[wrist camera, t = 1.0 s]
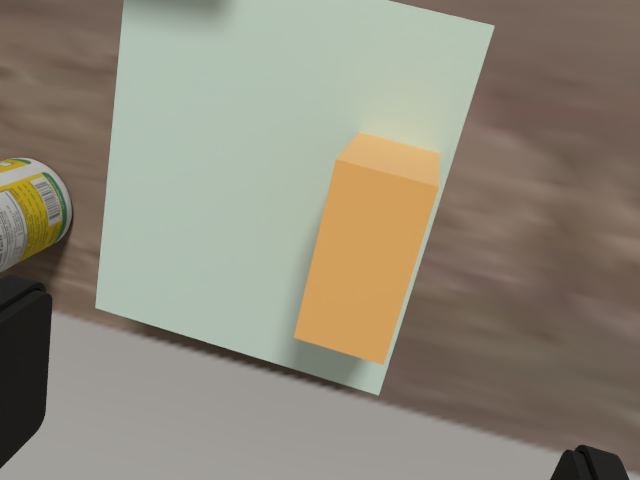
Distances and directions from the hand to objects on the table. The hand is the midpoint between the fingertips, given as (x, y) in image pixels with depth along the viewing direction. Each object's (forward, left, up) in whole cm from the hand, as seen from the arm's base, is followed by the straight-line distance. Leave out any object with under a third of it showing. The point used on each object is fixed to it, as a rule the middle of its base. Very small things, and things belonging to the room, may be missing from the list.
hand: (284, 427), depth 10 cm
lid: (+4, 0, -14) cm, 14 cm away
